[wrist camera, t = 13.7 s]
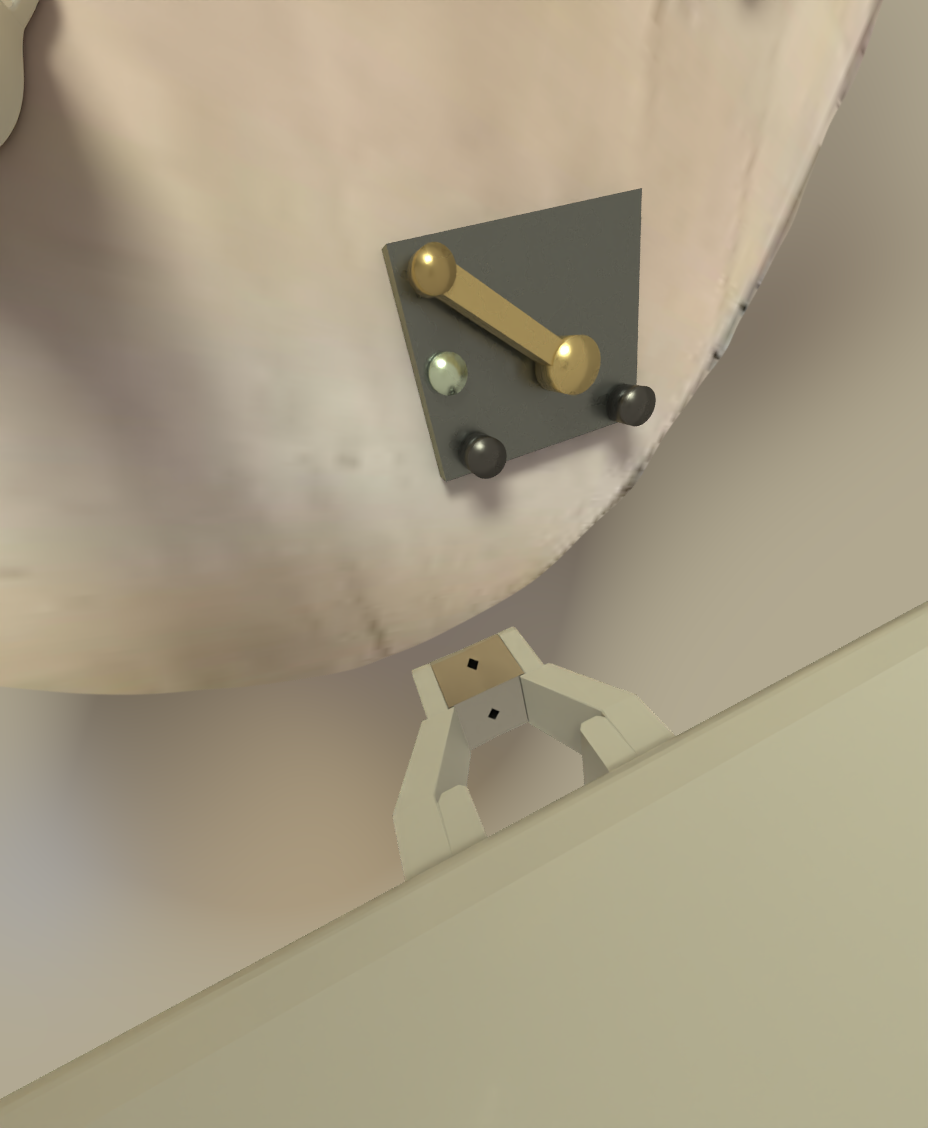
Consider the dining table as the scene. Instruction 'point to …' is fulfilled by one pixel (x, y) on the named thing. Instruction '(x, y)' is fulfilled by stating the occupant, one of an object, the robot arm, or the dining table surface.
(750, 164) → the dining table surface
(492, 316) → the lever
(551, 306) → the base
